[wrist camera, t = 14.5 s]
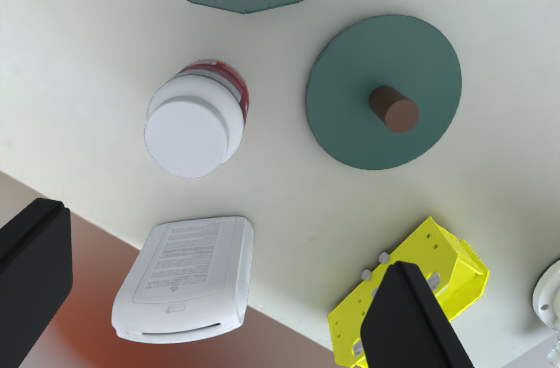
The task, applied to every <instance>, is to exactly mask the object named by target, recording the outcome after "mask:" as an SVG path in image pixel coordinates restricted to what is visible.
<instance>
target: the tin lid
mask: <svg viewBox="0 0 560 368" xmlns="http://www.w3.org/2000/svg"><path fill="white" fill-rule="evenodd" d="M461 87H462V78H461V69H460V64H459V61H458V58H457V55H456V53H455V51H454V49H453V47H452V45H451V44H450V42H449V41H448V40H447V38H446V37H445V36H444V35H443V34H442V33H441V32H440V31H439V30H438V29H436V28H435V27H433V26H432V25H431V24H429V23H427V22H425V21H423V20H421V19H417V18H414V17H411V16H405V15H381V16H375V17H371V18H368V19H365V20H362V21H360V22H358V23H355V24H353V25H352V26H350V27H349V28H347V29H345V30H344V31H343V32H341V33H340V34H339V35H337V36H336V37H335V38H334V39H333V40H332V41H331V42H330V43H329V44H328V45H327V46H326V48H325V49H324V50H323V52H322V53H321V54H320V56H319V58H318V59H317V61H316V63H315V65H314V67H313V69H312V72H311V74H310V77H309V81H308V84H307V90H306V112H307V117H308V121H309V125H310V127H311V130H312V132H313V134H314V136H315V138H316V140H317V141H318V143H319V144H320V145H321V147H322V148H323V149H324V150H325V151H326V152H327V153H328V154H329V155H331V156H332V157H333V158H335V159H336V160H338V161H340V162H342V163H343V164H346V165H349V166H351V167H355V168H359V169H366V170H382V169H389V168H393V167H397V166H400V165H403V164H405V163H408V162H410V161H412V160H414V159H416V158H417V157H419V156H420V155H422V154H423V153H425V152H426V151H427V150H428V149H430V148H431V147H432V146H433V145H434V144H435V143H436V142H437V141H438V140H439V139H440V138H441V136H442V135H443V134H444V133H445V131H446V130H447V128H448V127H449V125H450V123H451V121H452V119H453V117H454V115H455V113H456V110H457V107H458V105H459V100H460V96H461Z"/></svg>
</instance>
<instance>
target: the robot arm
mask: <svg viewBox="0 0 560 368" xmlns="http://www.w3.org/2000/svg"><path fill="white" fill-rule="evenodd" d="M70 221H71V220H70V210H69V208H65V207H64V204H63V202H61V201H56V200H50V199H44V198H37V199H35V200H34V201H33V202H32V203H30V204H29V205H28V206H27V207H26V208H24V209H23V210H22V211H21V212H20V213H19V214H18V215H16V216H15V217H14V218H13V219H11V220H10V221H9V222H8V223H7V224H6V225H4V226H3V227H2V228H1V229H0V368H18V367H19V366H20V364H21V363H22V362H23V360H24V358H25V357H26V356H27V354H28V353H29V351H30V350H31V348H32V347H33V346H34V344H35V343H36V341H37V340H38V338H39V337H40V335H41V334H42V332H43V331H44V330H45V328H46V327H47V325H48V324H49V322H50V321H51V319H52V318H53V317H54V315H55V314H56V312H57V311H58V309H59V308H60V306H61V305H62V303H63V302H64V301H65V299H66V298H67V296H68V295H69V293H70V291H71V288H72V283H73V274H72V247H71V222H70ZM533 307H534V310H535V312H536V314H537V315H538V317H539V318H540V319H541V320H542V321H543V322H544V323H545V324H546V325H547V326H549V327H551V328H552V329H555V330H558V331H559V332H560V260H558V261H557V262H556V263H554V264H553V265H552V266H551V267H550V268H549V269H548V270H547V271H546V272H545V273H544V274H543V276H542V277H541V278H540V280H539V281H538V283H537V285H536V287H535V289H534V294H533ZM360 338H361V342H362V346H363V349H364V353H365V357H366V361H367V365H368V368H474V366H473V364H472V362H471V361H470V359H469V357H468V355H467V353H466V351H465V350H464V348H463V346H462V344H461V342H460V341H459V339H458V337H457V335H456V333H455V332H454V330H453V328H452V326H451V324H450V322H449V321H448V319H447V317H446V315H445V313H444V312H443V310H442V308H441V306H440V304H439V303H438V301H437V299H436V297H435V295H434V294H433V292H432V290H431V288H430V286H429V284H428V283H427V281H426V279H425V277H424V275H423V274H422V272H421V270H420V268H419V267H418V265H417V264H415V263H409V262H403V261H396V262H395V263H394V265H393V264H390V265H389V266H388V268H387V270H386V272H385V274H384V276H383V279H382V281H381V283H380V285H379V287H378V289H377V292H376V294H375V296H374V298H373V300H372V303H371V305H370V307H369V309H368V311H367V313H366V316H365V318H364V320H363V322H362V324H361V328H360ZM558 340H559V342H558V344H557V345H555V346H554V348H553V349H552V350H551V352H550V353H549V355H548V356H547V359H548V361H549V362H550V363H551V364H552V365H553V366H554V367H557V368H560V333H559V335H558Z"/></svg>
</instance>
